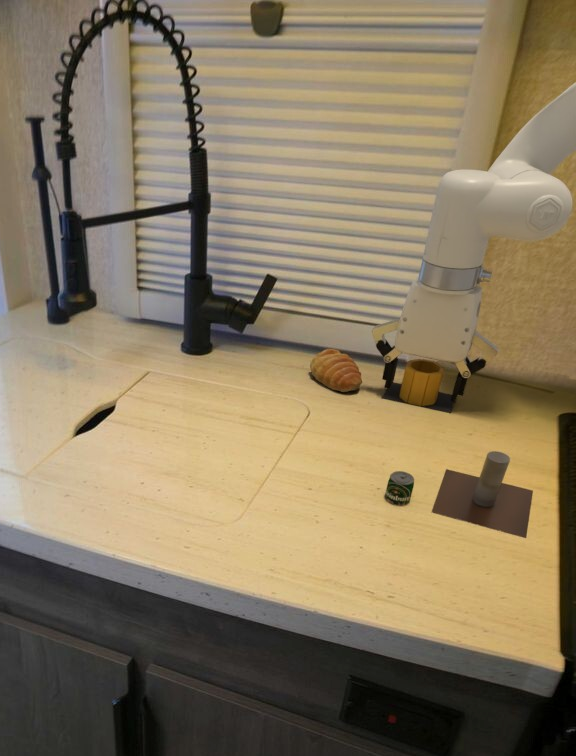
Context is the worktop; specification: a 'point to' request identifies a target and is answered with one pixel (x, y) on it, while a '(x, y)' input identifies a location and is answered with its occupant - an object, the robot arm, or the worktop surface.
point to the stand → (485, 498)
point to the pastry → (336, 370)
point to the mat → (440, 405)
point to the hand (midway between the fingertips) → (421, 391)
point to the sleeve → (421, 382)
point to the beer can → (399, 488)
